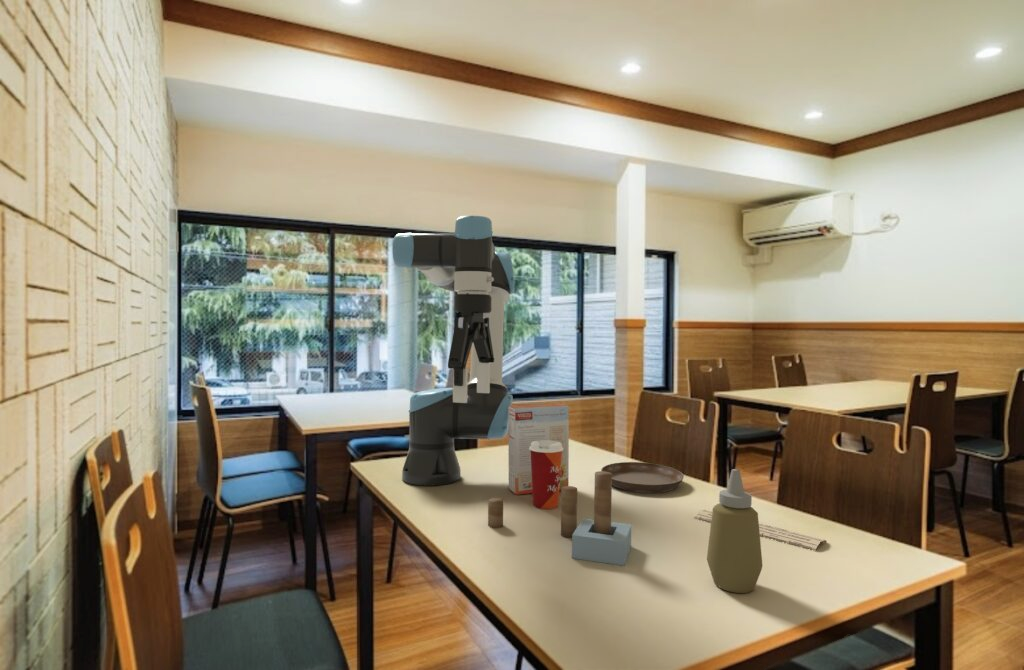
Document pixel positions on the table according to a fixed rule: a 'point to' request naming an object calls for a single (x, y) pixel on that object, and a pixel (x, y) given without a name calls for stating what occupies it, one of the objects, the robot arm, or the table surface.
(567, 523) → the medium walnut peg
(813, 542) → the newspaper
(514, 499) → the table surface
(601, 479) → the long walnut peg
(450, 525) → the table surface
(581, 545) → the slate-blue socket block
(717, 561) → the squeeze bottle
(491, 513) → the short walnut peg
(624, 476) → the plant saucer
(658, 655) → the table surface
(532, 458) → the paper cup
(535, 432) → the cracker box
